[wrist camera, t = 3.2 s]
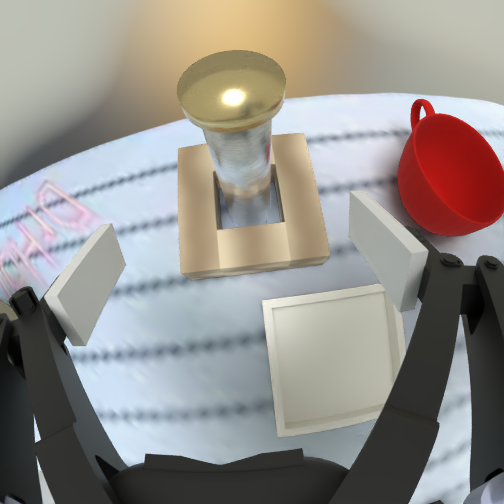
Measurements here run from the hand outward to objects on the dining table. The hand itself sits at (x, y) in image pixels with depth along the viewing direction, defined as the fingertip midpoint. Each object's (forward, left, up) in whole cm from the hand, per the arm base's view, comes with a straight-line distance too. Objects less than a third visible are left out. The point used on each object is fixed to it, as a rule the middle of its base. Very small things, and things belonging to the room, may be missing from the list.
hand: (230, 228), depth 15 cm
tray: (-8, +10, -16) cm, 20 cm away
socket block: (-1, -7, -16) cm, 18 cm away
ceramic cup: (-23, -8, -16) cm, 29 cm away
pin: (-1, -7, -16) cm, 18 cm away
